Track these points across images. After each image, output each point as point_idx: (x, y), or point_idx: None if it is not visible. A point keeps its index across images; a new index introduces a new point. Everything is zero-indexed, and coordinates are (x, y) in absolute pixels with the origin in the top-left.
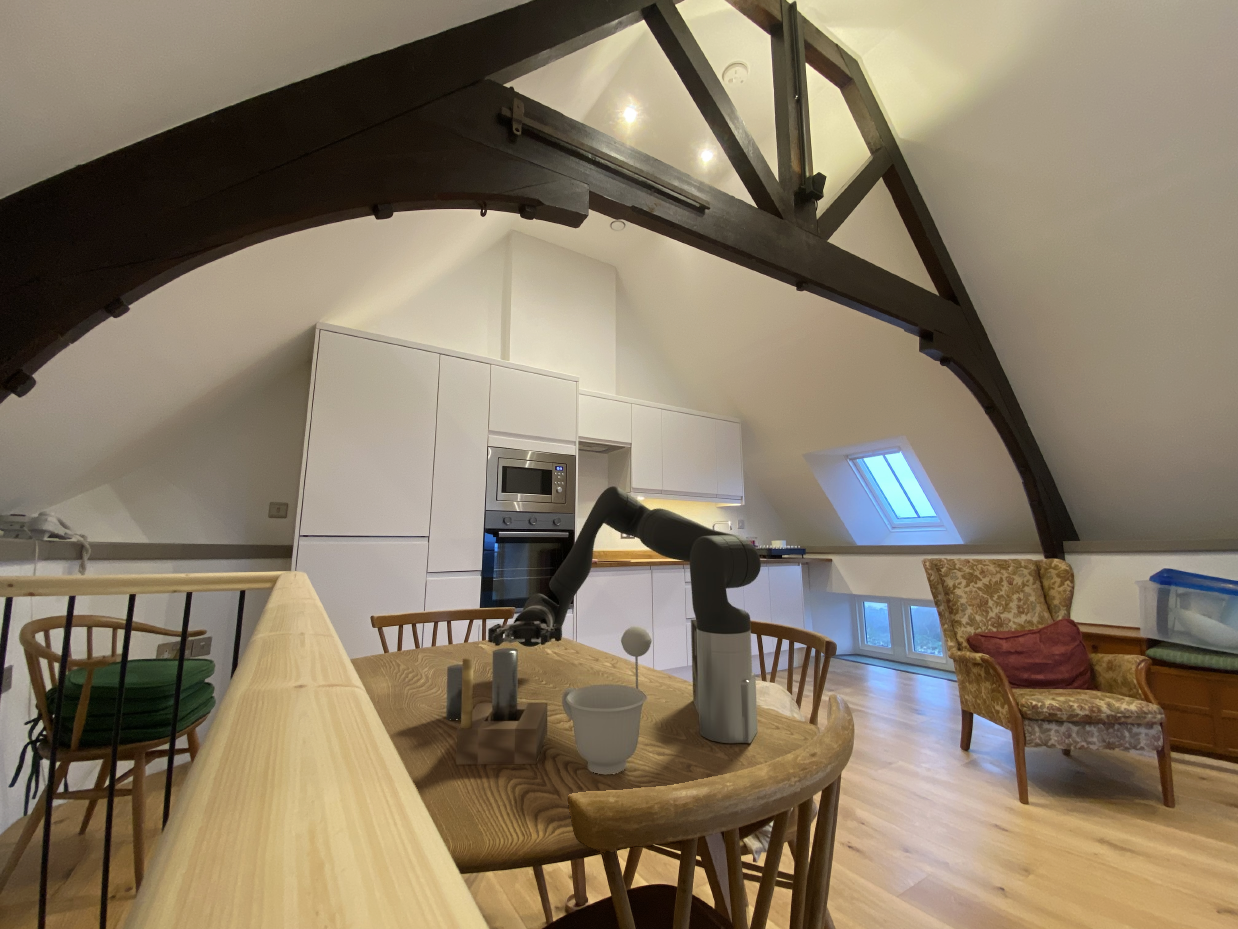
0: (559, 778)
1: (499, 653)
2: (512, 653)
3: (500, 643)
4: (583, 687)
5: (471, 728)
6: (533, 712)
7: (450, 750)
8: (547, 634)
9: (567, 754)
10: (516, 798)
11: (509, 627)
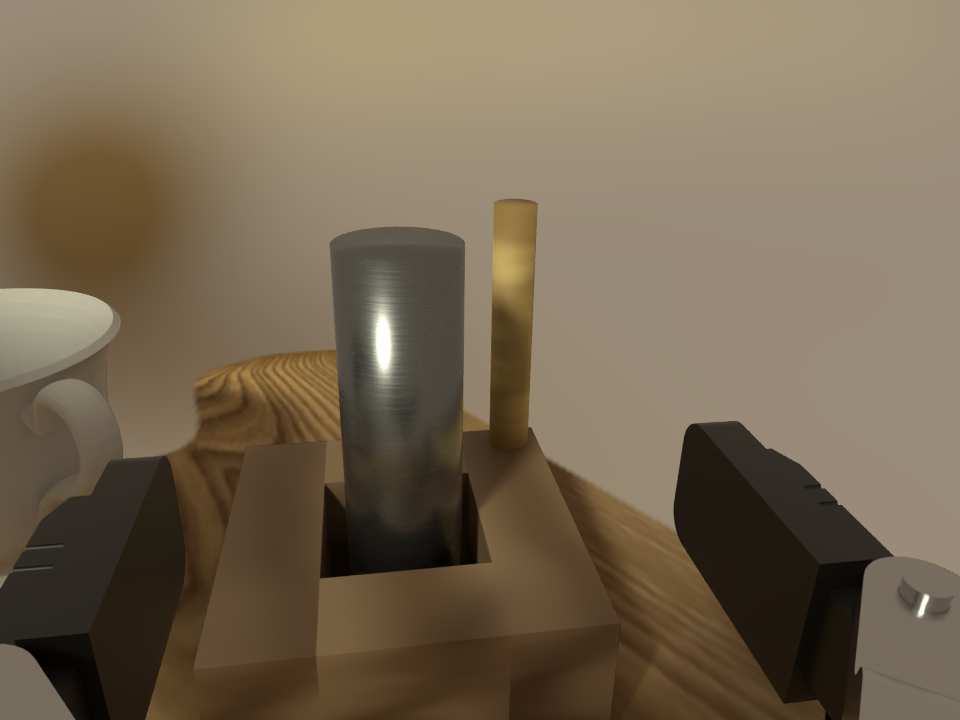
0: (184, 495)
1: (411, 228)
2: (348, 237)
3: (711, 578)
4: (6, 379)
5: (483, 433)
6: (270, 549)
7: (614, 595)
8: (67, 507)
9: None
10: (296, 433)
11: (857, 691)
